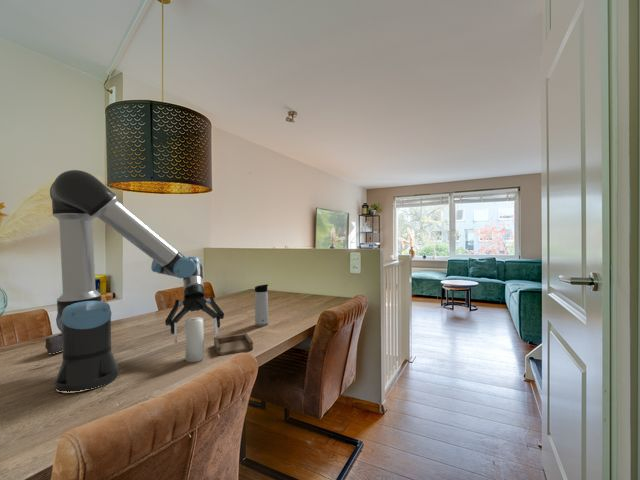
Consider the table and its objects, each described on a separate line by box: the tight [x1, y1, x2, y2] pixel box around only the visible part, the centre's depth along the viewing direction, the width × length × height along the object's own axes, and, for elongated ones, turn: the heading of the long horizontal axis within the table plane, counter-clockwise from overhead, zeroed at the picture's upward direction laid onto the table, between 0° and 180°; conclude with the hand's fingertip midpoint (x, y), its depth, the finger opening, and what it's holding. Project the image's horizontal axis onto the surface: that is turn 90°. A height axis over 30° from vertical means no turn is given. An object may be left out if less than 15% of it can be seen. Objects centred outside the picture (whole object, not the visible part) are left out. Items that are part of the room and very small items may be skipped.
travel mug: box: [254, 284, 269, 327], centre depth 148 cm, size 6×7×20 cm
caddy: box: [213, 333, 254, 357], centre depth 117 cm, size 13×12×3 cm
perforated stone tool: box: [44, 333, 63, 354], centre depth 117 cm, size 15×5×7 cm, turn 173°
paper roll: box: [184, 317, 205, 363], centre depth 107 cm, size 6×6×14 cm
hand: (196, 338), depth 107 cm, fingers open, 13 cm apart
